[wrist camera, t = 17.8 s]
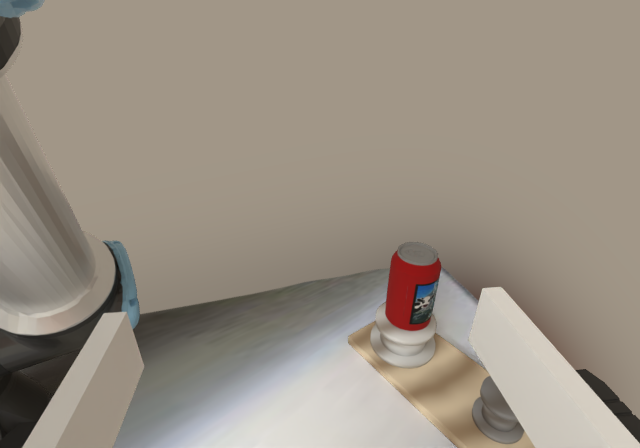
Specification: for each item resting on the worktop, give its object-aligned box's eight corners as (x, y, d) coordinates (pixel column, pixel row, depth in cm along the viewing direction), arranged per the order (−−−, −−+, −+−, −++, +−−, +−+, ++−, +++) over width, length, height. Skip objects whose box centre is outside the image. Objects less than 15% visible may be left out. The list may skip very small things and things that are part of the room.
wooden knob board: (348, 342, 59) (349, 312, 56) (398, 313, 65) (402, 284, 62) (515, 502, 39) (532, 469, 36) (564, 437, 45) (583, 404, 42)
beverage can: (426, 340, 51) (440, 271, 45) (379, 327, 53) (387, 259, 47) (432, 310, 56) (445, 245, 51) (389, 299, 58) (397, 235, 53)
